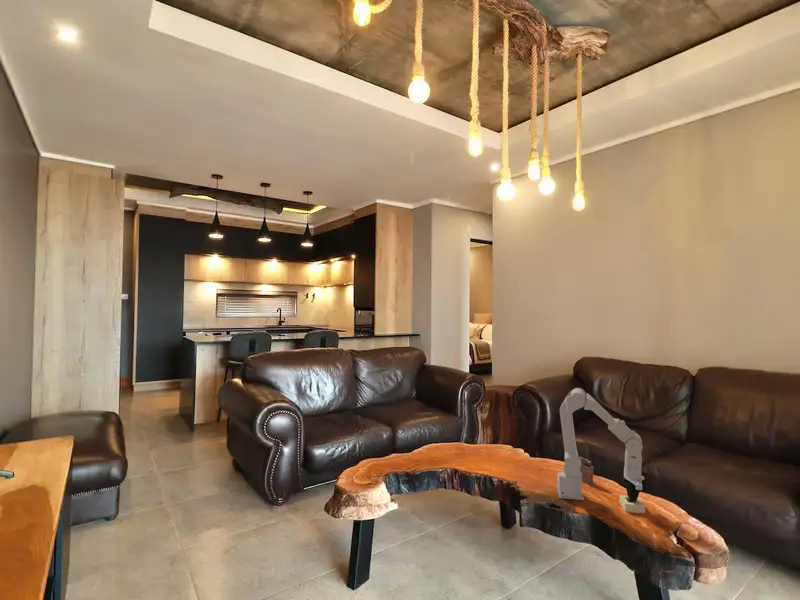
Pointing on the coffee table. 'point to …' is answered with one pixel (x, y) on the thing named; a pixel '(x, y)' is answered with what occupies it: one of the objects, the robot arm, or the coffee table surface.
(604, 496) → the coffee table surface
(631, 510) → the block with square hole
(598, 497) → the coffee table surface
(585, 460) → the lighter
